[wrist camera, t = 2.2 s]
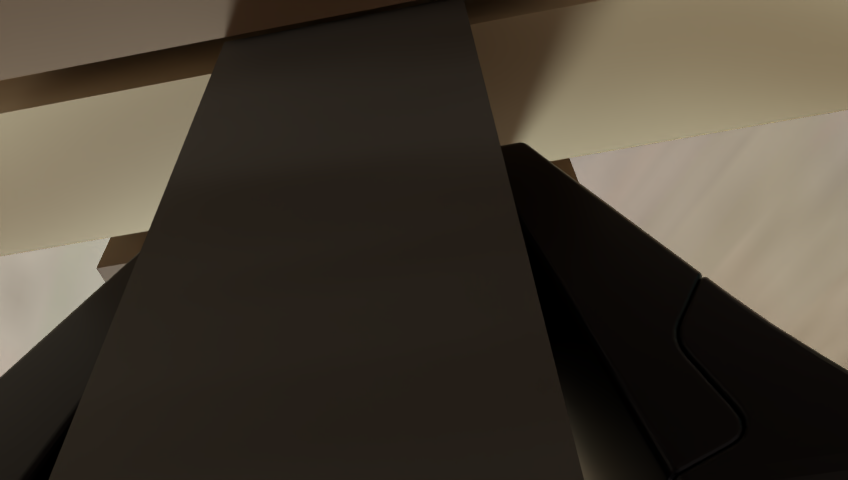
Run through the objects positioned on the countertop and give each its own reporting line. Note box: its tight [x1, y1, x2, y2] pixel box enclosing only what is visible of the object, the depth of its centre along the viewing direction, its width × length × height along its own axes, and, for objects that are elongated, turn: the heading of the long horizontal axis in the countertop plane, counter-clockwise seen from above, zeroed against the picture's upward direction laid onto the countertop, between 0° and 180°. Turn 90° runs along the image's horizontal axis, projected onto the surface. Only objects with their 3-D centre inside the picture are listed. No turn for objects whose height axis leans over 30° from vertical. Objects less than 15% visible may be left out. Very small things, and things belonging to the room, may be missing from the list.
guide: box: [0, 0, 578, 282], centre depth 11 cm, size 5×8×2 cm
